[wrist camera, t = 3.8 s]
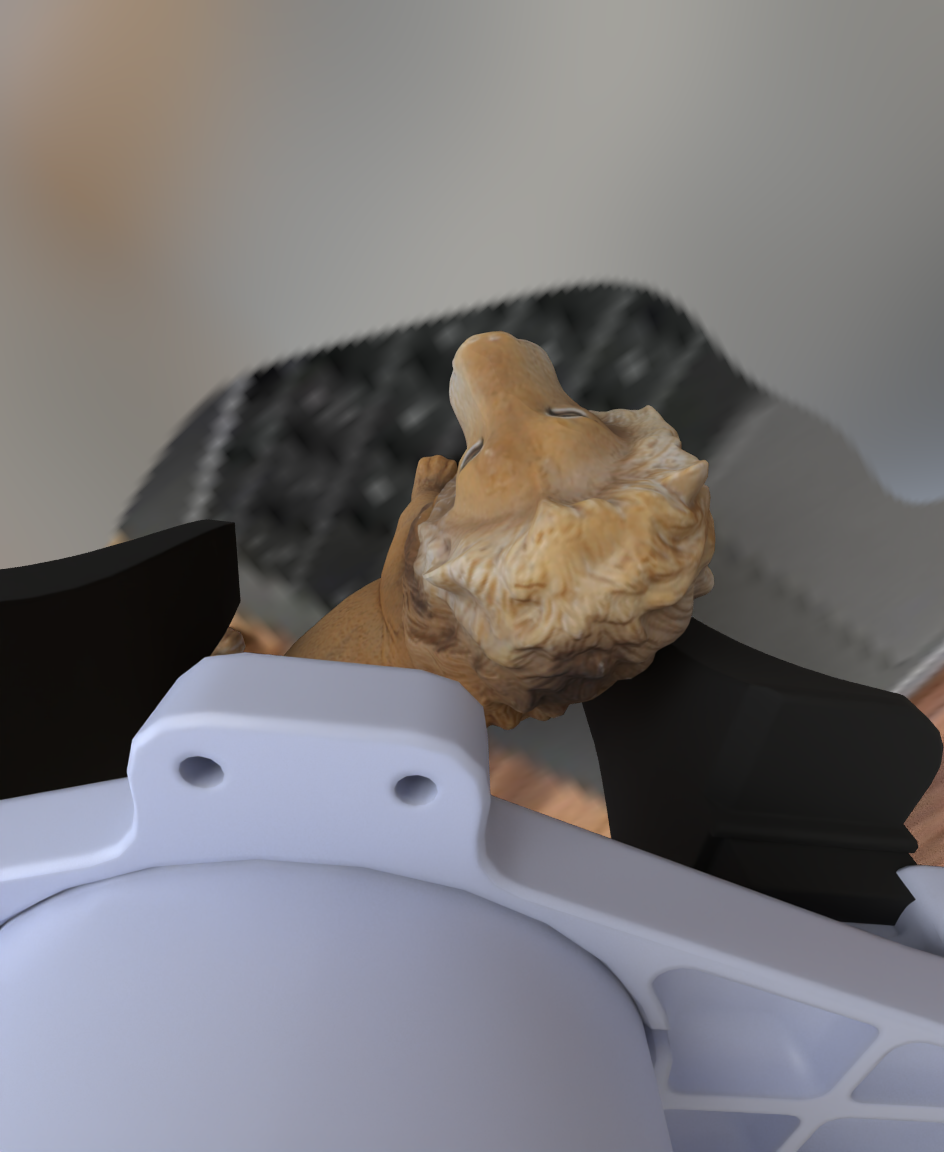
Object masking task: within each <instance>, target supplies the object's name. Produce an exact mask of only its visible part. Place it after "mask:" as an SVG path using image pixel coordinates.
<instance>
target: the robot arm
mask: <svg viewBox="0 0 944 1152" xmlns="http://www.w3.org/2000/svg"><path fill="white" fill-rule="evenodd" d="M239 604H240V588H239V574H238V561H237V547H236V534H235V523H233V522H224V521H215V520H200V521H195V522H191V523H187V524H183V525H180V526H176V527H173V528H170V529H166V530H163V531H160V532H157V533H153V534H150V535H147V536H144V537H141V538H137V539H134V540H131V541H128V542H124V543H120V544H117V545H113V546H110V547H106V548H102V549H99V550H95V551H92V552H88V553H85V554H81V555H76V556H72V557H68V558H64V559H59V560H54V561H49V562H44V563H38V564H33V565H28V566H22V567H15V568H8V569H0V1152H944V867H941V866H928V865H917V863H916V862H915V861H914V860H913V858H912V857H911V856H910V855H909V853H915V851H916V850H917V849H918V844H917V840H916V839H915V838H914V837H913V835H912V834H911V833H910V832H909V831H908V829H907V828H906V827H905V826H904V824H903V823H904V822H905V821H906V819H907V818H908V816H909V815H910V813H911V812H912V810H913V809H914V808H915V806H916V805H917V803H918V802H919V800H920V799H921V798H922V796H923V795H924V793H925V792H926V790H927V789H928V787H929V786H930V785H931V783H932V781H933V779H934V777H935V775H936V773H937V772H938V770H939V768H940V765H941V760H942V753H943V743H942V740H941V736H940V732H939V731H938V729H937V728H936V727H935V726H934V724H933V723H932V722H931V721H930V720H929V719H928V718H927V717H926V716H925V715H924V714H923V713H922V712H921V711H920V710H919V709H918V708H917V707H916V706H915V705H914V704H912V703H911V702H910V701H909V700H908V699H907V698H906V697H905V696H903V695H901V694H897V693H893V692H889V691H885V690H881V689H877V688H873V687H869V686H865V685H861V684H857V683H853V682H849V681H845V680H841V679H838V678H834V677H831V676H828V675H825V674H822V673H818V672H815V671H812V670H809V669H806V668H803V667H800V666H797V665H794V664H791V663H789V662H786V661H783V660H780V659H778V658H775V657H773V656H770V655H768V654H765V653H763V652H761V651H758V650H756V649H753V648H751V647H749V646H746V645H744V644H742V643H740V642H738V641H735V640H733V639H731V638H729V637H727V636H726V635H724V634H722V633H720V632H718V631H716V630H714V629H712V628H710V627H708V626H706V625H704V624H703V623H701V622H699V621H697V620H696V619H694V618H693V617H691V619H690V622H689V625H688V627H687V628H686V630H685V632H684V633H683V634H682V635H681V636H680V637H679V638H677V639H676V640H675V641H674V642H673V643H671V644H669V645H667V646H665V647H663V648H661V649H659V650H658V651H657V652H656V653H655V657H654V660H653V662H652V663H651V664H650V665H649V667H648V668H647V669H646V670H645V671H643V672H641V673H640V674H638V675H637V676H635V677H633V678H632V679H624V680H617V681H616V682H615V683H614V684H613V685H612V686H611V687H610V688H608V689H607V690H605V691H604V692H603V693H601V694H600V695H599V696H597V697H595V698H594V699H592V700H589V701H585V702H582V704H583V708H584V711H585V714H586V717H587V721H588V724H589V727H590V731H591V734H592V737H593V740H594V744H595V748H596V752H597V756H598V760H599V765H600V771H601V776H602V782H603V788H604V794H605V800H606V806H607V813H608V820H609V826H610V833H611V839H610V838H608V837H605V836H602V835H599V834H597V833H594V832H591V831H588V830H585V829H583V828H580V827H577V826H574V825H572V824H569V823H566V822H563V821H561V820H558V819H555V818H552V817H550V816H547V815H544V814H541V813H539V812H536V811H533V810H530V809H528V808H525V807H522V806H519V805H517V804H514V803H511V802H508V801H506V800H503V799H500V798H497V797H495V796H492V795H491V794H490V773H489V749H488V733H487V727H486V721H485V715H484V709H483V706H482V705H481V704H480V703H479V702H478V701H477V700H476V699H475V698H474V697H473V696H472V695H471V694H470V693H469V692H468V691H467V690H466V689H465V688H464V687H463V686H462V685H461V684H460V683H459V682H458V681H455V680H451V679H448V678H445V677H442V676H439V675H436V674H433V673H430V672H427V671H423V670H420V669H410V668H399V667H389V666H379V665H369V664H359V663H348V662H338V661H328V660H318V659H308V658H297V657H287V656H277V655H267V654H256V653H246V652H244V653H236V654H228V655H219V656H211V657H210V655H211V654H212V653H213V651H214V650H215V648H216V647H217V645H218V644H219V642H220V641H221V639H222V638H223V636H224V635H225V633H226V631H227V629H228V627H229V625H230V623H231V621H232V619H233V617H234V615H235V612H236V610H237V608H238V606H239Z"/></svg>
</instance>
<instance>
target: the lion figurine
mask: <svg viewBox="0 0 944 1152" xmlns="http://www.w3.org/2000/svg"><path fill="white" fill-rule="evenodd" d="M452 363H453V369H454V370H453V373H452V376H451V379H450V389H449V395H450V403H451V405H452V408H453V410H454V412H455V414H456V416H457V419H458V421H459V423H460V425H461V427H462V429H463V432H464V435H465V438H466V442H467V450H466V451H465V453H464V455H463V456H462V458H461V460H460V462H459V466H458V467H457V463H456V462H455V461H454V460H450V459H446V458H445V457H443V456H441V455H435V456H432V457H423V458H422V459H420V461H419V463H418V467H417V470H416V476H415V482H414V487H413V491H412V497H411V499H412V501H411V503H410V504H409V505H408V506H407V507H406V509H405V510H404V511H403V513H402V514H401V516H400V518H399V522H398V526H397V530H396V533H395V536H394V538H393V541H392V544H391V546H390V549H389V551H388V554H387V558H386V561H385V564H384V568H383V571H382V575H381V578H380V579H378V580H376V581H374V582H372V583H370V584H368V585H366V586H364V587H363V588H361V589H360V590H358V591H356V592H355V593H353V594H352V595H350V596H349V597H347V598H346V599H345V600H343V601H342V602H341V603H340V604H339V605H338V606H336V607H335V608H334V609H333V610H332V611H330V612H329V613H328V614H327V615H326V616H324V617H323V618H322V619H321V620H320V621H319V622H318V623H317V624H316V625H315V626H313V627H312V628H311V629H310V630H308V631H307V632H306V633H305V634H304V635H303V636H302V637H300V638H299V639H298V640H297V641H296V642H295V643H294V644H293V645H292V647H291V648H290V649H289V650H288V651H287V653H286V654H285V655H284V656H287V657H297V658H308V659H318V660H328V661H338V662H348V663H359V664H369V665H379V666H389V667H399V668H410V669H420V670H423V671H427V672H430V673H433V674H436V675H439V676H442V677H445V678H448V679H451V680H455V681H458V682H459V683H460V684H461V685H462V686H463V687H464V688H465V689H466V690H467V691H468V692H469V693H470V694H471V695H472V696H473V697H474V698H475V699H476V700H477V701H478V702H479V703H480V704H481V705H482V706H483V709H484V715H485V721H486V727H487V728H488V727H489V726H490V725H495V726H499V727H501V728H503V729H505V730H510V729H512V728H514V727H516V726H517V725H518V724H519V723H520V721H522V720H524V719H526V718H529V717H532V718H535V719H538V720H541V721H546V720H549V719H550V718H551V717H552V718H555V717H559V716H561V715H563V714H564V713H565V711H566V709H567V707H568V706H569V705H570V704H574V703H581V702H585V701H589V700H592V699H594V698H595V697H597V696H599V695H600V694H601V693H603V692H604V691H605V690H607V689H608V688H610V687H611V686H612V685H613V684H614V683H615V682H616V681H617V680H624V679H632V678H633V677H635V676H637V675H638V674H640V673H641V672H643V671H645V670H646V669H647V668H648V667H649V665H650V664H651V663H652V662H653V660H654V657H655V653H656V652H657V651H658V650H659V649H661V648H663V647H665V646H667V645H669V644H671V643H673V642H674V641H675V640H676V639H677V638H679V637H680V636H681V635H682V634H683V633H684V632H685V630H686V628H687V627H688V625H689V622H690V619H691V616H692V612H693V603H694V602H693V600H694V598H697V597H700V596H703V595H706V594H707V593H709V592H710V591H711V589H712V588H713V586H714V576H713V574H712V572H711V570H710V569H709V567H708V566H707V565H708V564H709V563H710V561H711V559H712V556H713V553H714V550H715V532H714V520H713V518H712V515H711V513H710V510H709V507H710V492H709V487H707V486H706V485H704V483H705V481H706V479H707V477H708V465H709V463H708V462H707V461H706V460H701V461H700V460H698V459H697V458H696V457H695V456H693V455H691V454H689V453H687V452H686V451H684V450H682V449H681V441H680V440H679V437H678V434H677V432H676V431H675V430H674V428H672V427H671V426H670V425H669V424H667V423H666V422H665V421H664V420H663V418H662V417H661V415H660V414H659V413H658V412H657V411H656V410H655V409H654V408H653V407H651V406H649V405H647V406H646V407H644V408H643V409H640V410H625V409H615V410H611V411H608V412H597V411H592V410H590V411H588V410H586V409H584V408H581V407H580V406H579V405H578V404H577V403H575V402H574V401H573V400H572V399H571V398H570V397H569V396H568V395H567V394H566V393H565V392H564V391H563V389H562V388H561V386H560V384H559V382H558V379H557V376H556V373H555V370H554V367H553V364H552V363H551V361H550V359H549V357H548V355H547V353H546V352H545V351H544V350H543V349H542V348H541V347H540V346H538V345H536V344H534V343H532V342H529V341H527V340H521V339H516V338H515V337H514V336H512V335H511V334H509V333H506V332H503V331H495V332H487V333H483V334H478V335H474V336H472V337H470V338H468V339H467V340H466V341H465V342H464V343H463V344H462V345H461V346H460V347H459V349H458V350H457V352H456V355H455V357H454V359H453V362H452ZM244 649H245V643H244V640H243V636H242V635H241V633H240V632H237V631H235V630H234V629H232V628H230V627H228V629H227V631H226V633H225V635H224V636H223V638H222V639H221V641H220V642H219V644H218V645H217V647H216V648H215V650H214V651H213V653H212V654H211V655H210V657H211V656H219V655H228V654H236V653H243V651H244Z"/></svg>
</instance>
